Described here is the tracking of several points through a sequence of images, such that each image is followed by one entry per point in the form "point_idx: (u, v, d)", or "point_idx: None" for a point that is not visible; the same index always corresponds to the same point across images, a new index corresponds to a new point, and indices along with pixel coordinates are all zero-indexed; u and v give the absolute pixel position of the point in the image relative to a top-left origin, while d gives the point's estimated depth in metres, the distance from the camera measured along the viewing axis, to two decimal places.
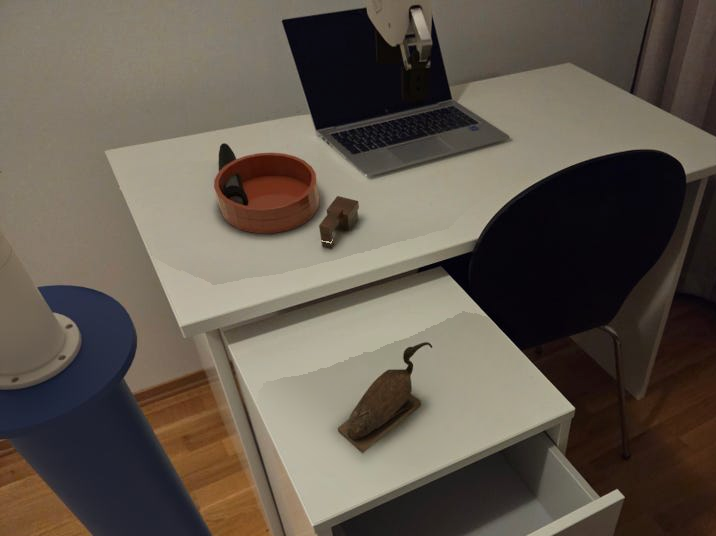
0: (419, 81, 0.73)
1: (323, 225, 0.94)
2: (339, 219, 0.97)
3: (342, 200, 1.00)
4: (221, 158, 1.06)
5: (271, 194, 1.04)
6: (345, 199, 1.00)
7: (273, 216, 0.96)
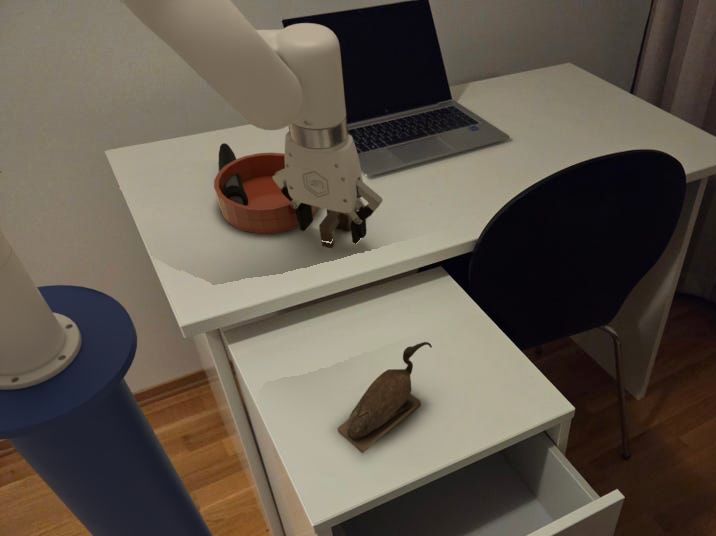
0: (364, 226, 0.95)
1: (323, 225, 0.94)
2: (339, 219, 0.97)
3: None
4: (221, 158, 1.06)
5: (271, 194, 1.04)
6: None
7: (273, 216, 0.96)
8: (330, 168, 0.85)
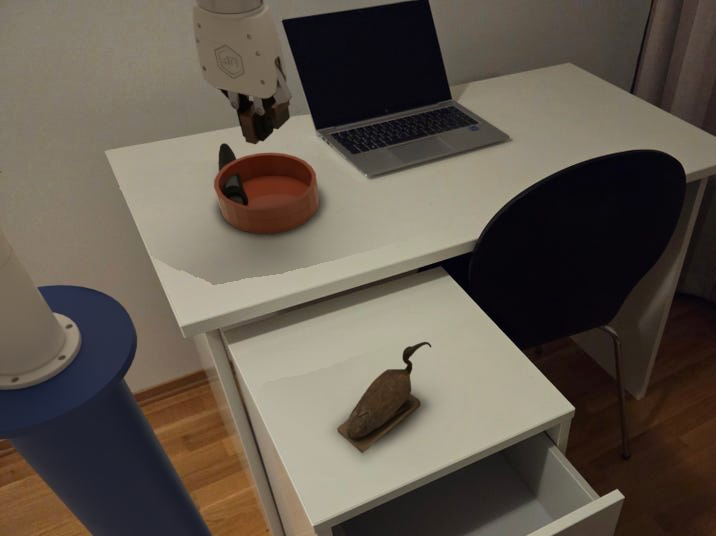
0: (269, 120, 0.87)
1: (244, 115, 0.86)
2: None
3: None
4: (221, 158, 1.06)
5: (271, 194, 1.04)
6: None
7: (273, 216, 0.96)
8: (243, 40, 0.77)
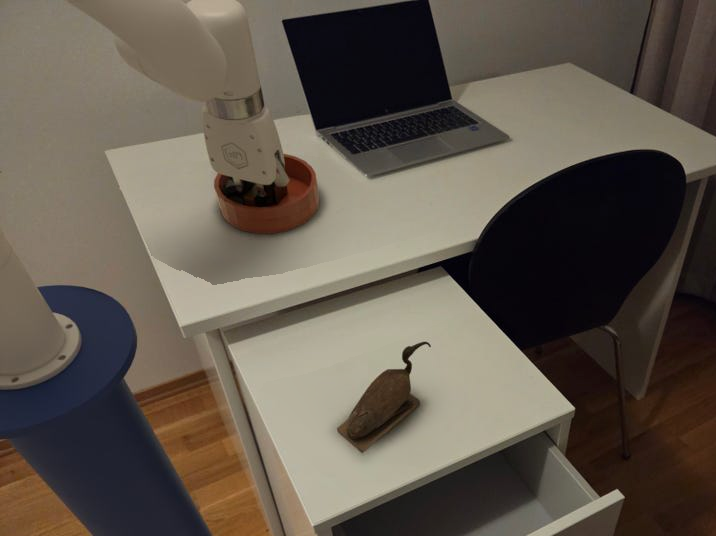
0: (270, 199, 0.99)
1: (247, 197, 0.97)
2: None
3: None
4: None
5: None
6: None
7: (273, 216, 0.96)
8: (246, 139, 0.88)
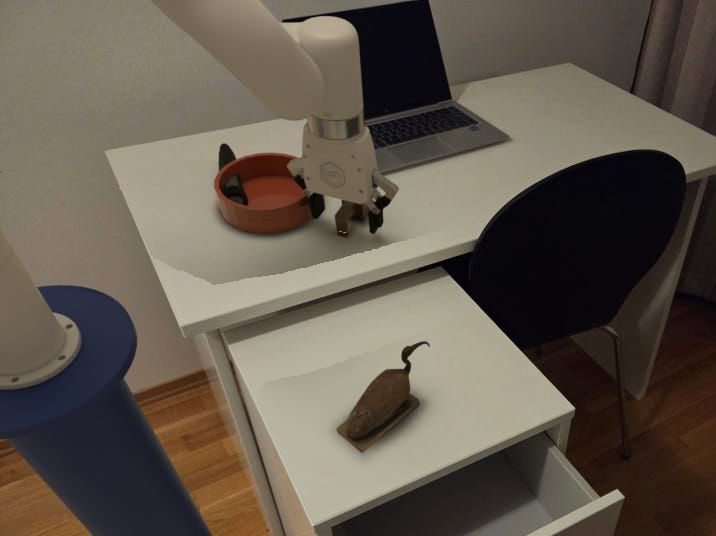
0: (381, 216, 0.97)
1: (339, 215, 0.96)
2: (354, 209, 0.99)
3: None
4: (221, 158, 1.06)
5: (271, 194, 1.04)
6: None
7: (273, 216, 0.96)
8: (347, 159, 0.87)
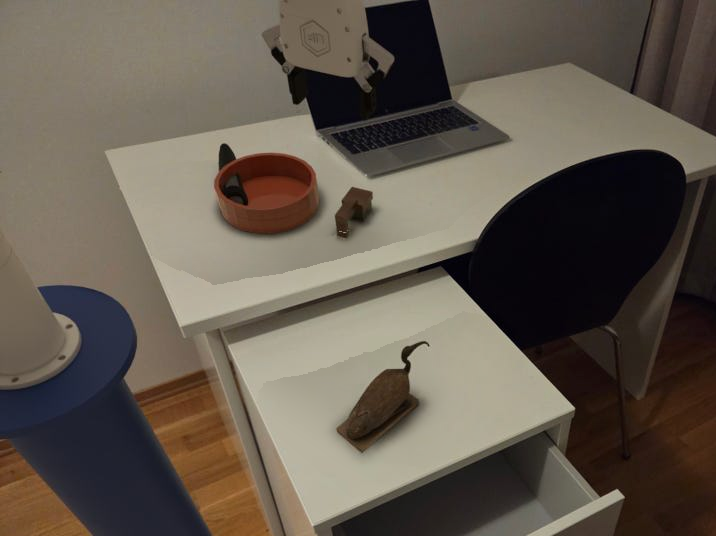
0: (374, 97, 0.82)
1: (339, 215, 0.96)
2: (354, 209, 0.99)
3: (357, 190, 1.02)
4: (221, 158, 1.06)
5: (271, 194, 1.04)
6: (359, 190, 1.02)
7: (273, 216, 0.96)
8: (332, 15, 0.73)
